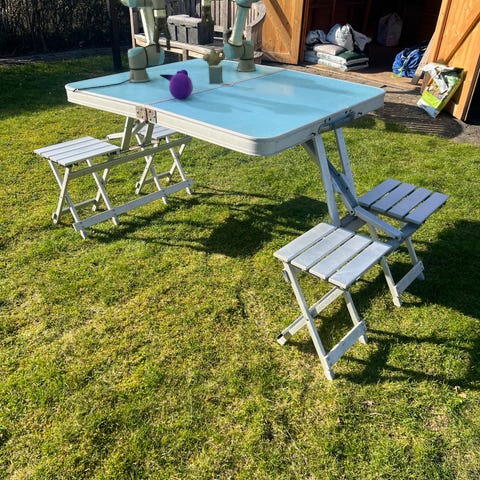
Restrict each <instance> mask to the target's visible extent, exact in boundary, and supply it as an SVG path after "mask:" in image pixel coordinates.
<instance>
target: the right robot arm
mask: <svg viewBox="0 0 480 480" xmlns="http://www.w3.org/2000/svg"><path fill="white" fill-rule="evenodd" d="M234 1H235V5H236V12H235V16H234V21H233V26H232V30H231V34H230V37H229V38H228V39H227V42H226V43H224V45H223V47H222V49H223V52H224V55H225V59H227V60H234V59H239V61H238V65H237V67H236V70H237V72H241V73H250V72H255V71H256V70H257V68H256V63H255V61H254V58H255V57H254V54H255V52H254V49H255V48H254V47H255V45H254V40H248V39H243V37H244V32H245V28H246V23H247V18H248V14H249V11H250V10H251V9H252V6H253V4H257V3H259V2H261V0H234ZM200 3H201V12H202V13H201V20H200V27H201V30H202V31H201V32H202V37H206V36H207V28H206V23H208V35H214V34H213V26H214V20H213V15H212V0H200Z"/></svg>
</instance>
